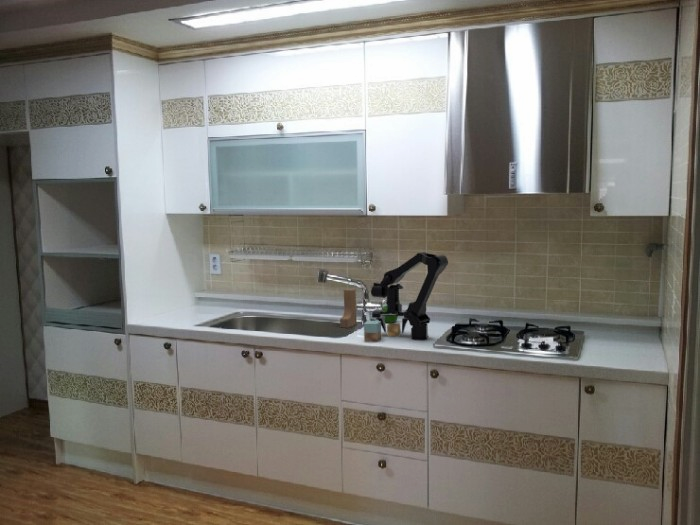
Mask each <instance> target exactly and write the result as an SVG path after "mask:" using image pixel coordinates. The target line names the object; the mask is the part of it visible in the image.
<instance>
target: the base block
mask: <svg viewBox="0 0 700 525" xmlns="http://www.w3.org/2000/svg"><path fill="white" fill-rule="evenodd" d="M363 336H364V342H370V341H371V342H373V343H374V342H375V343H376V342H377V343H378V342H380V341H381V340H382V330H381V331H379V332H378V333H364V332H363Z"/></svg>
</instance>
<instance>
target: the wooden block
mask: <svg viewBox="0 0 700 525" xmlns="http://www.w3.org/2000/svg"><path fill="white" fill-rule="evenodd" d="M356 296H357V293H356V288H345V289H343V305H344V306H343V307H344V311H343V315H342V317H340V318H339V324H340V325H339V327H340V328H343V329H344V328H345V329H346V328H347V329H349V328H351V327H354V326H356V325H358V319H357V297H356Z"/></svg>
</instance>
